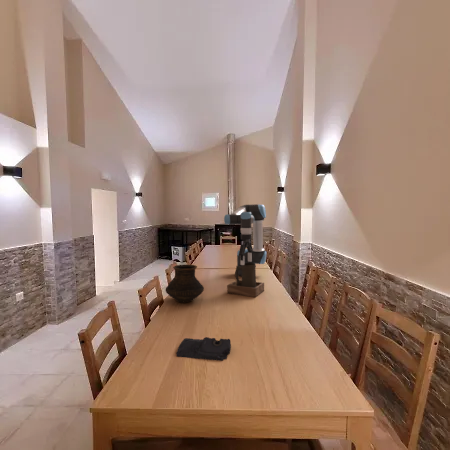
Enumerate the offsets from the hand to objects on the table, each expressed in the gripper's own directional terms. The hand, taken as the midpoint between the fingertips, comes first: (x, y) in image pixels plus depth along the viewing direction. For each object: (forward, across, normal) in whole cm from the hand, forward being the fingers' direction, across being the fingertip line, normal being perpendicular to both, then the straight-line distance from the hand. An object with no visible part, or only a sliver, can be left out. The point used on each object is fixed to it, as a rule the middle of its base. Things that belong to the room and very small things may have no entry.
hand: (246, 263), depth 204 cm
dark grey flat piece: (+20, +88, +18) cm, 92 cm away
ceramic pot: (+21, +37, -28) cm, 50 cm away
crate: (+21, +1, 0) cm, 21 cm away
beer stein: (+20, +2, 0) cm, 20 cm away
